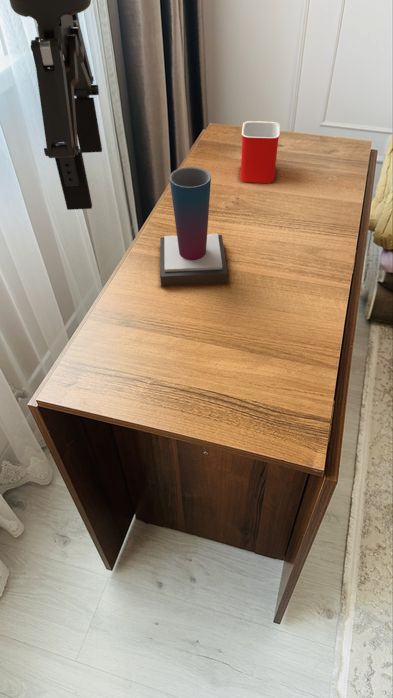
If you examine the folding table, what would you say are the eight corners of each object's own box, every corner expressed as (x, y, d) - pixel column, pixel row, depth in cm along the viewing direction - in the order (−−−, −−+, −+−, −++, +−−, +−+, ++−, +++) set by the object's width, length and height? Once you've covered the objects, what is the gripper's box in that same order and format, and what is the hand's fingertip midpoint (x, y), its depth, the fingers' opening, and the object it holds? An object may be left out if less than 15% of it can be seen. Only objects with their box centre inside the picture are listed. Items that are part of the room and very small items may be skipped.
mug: (274, 184, 114) (279, 138, 106) (238, 182, 115) (240, 137, 107) (275, 159, 122) (280, 115, 114) (242, 158, 123) (244, 114, 115)
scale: (161, 286, 90) (160, 273, 88) (161, 247, 99) (160, 234, 96) (227, 283, 91) (227, 270, 88) (221, 244, 99) (221, 232, 97)
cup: (217, 248, 93) (218, 173, 82) (198, 267, 89) (196, 191, 78) (187, 237, 96) (184, 163, 85) (167, 255, 92) (161, 180, 81)
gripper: (66, -10, 36) (109, 235, 52) (96, -67, 53) (122, 130, 69) (-37, -7, 36) (37, 238, 52) (26, -65, 53) (68, 133, 69)
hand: (86, 177), depth 60 cm, fingers open, 13 cm apart
